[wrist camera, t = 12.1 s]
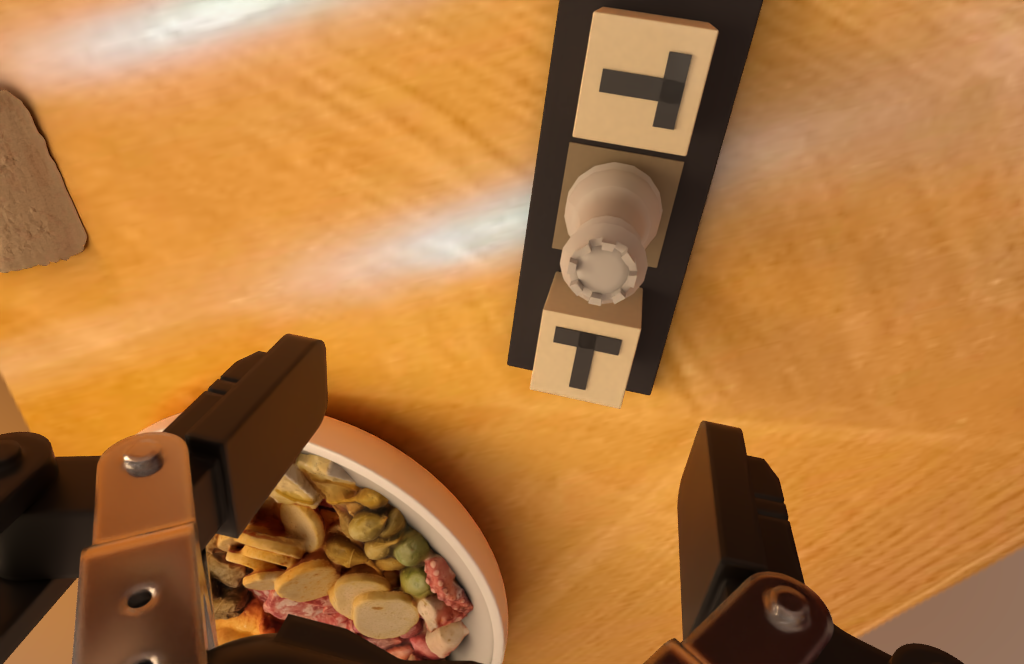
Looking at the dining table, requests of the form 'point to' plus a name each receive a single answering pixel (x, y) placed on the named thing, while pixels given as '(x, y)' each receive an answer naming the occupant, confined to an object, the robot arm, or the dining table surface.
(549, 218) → the word mat
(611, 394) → the tile
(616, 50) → the tile
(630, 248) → the rook chess piece
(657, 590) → the dining table surface
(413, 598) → the bowl
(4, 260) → the clay tablet
